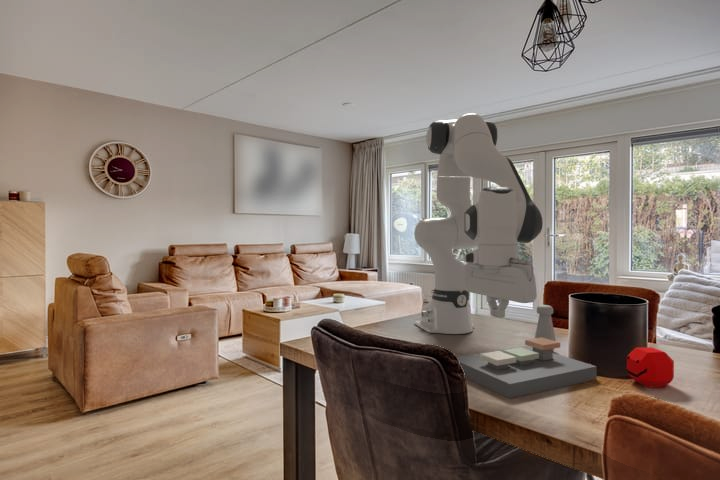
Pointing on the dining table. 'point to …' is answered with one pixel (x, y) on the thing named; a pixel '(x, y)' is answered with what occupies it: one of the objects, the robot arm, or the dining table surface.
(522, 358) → the sage button
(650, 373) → the ball
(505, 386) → the panel
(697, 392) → the dining table surface
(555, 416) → the dining table surface
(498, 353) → the cream button
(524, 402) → the dining table surface
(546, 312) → the salt shaker
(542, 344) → the terracotta button
